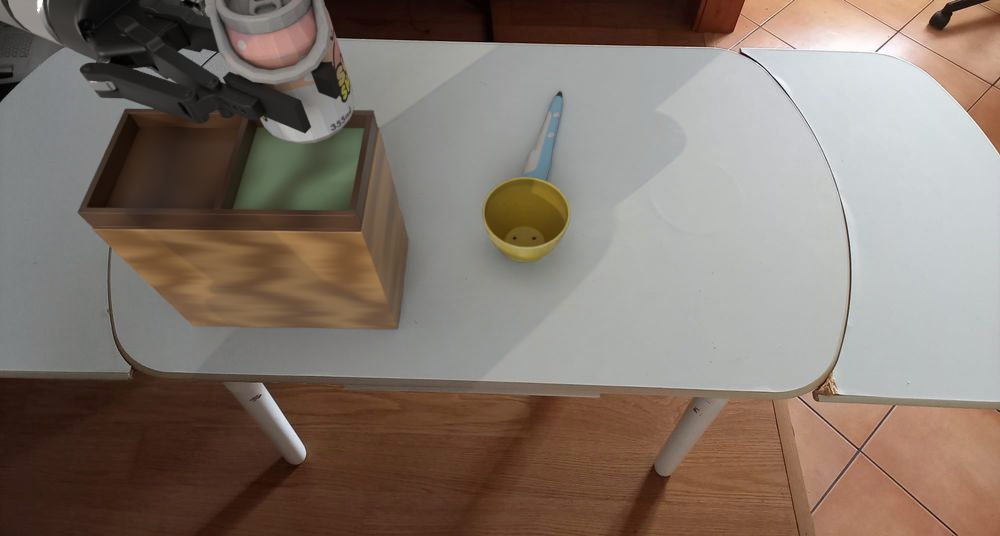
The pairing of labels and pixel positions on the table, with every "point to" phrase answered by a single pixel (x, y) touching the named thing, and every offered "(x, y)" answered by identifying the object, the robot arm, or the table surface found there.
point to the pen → (544, 143)
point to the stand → (281, 268)
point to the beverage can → (285, 57)
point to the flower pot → (526, 217)
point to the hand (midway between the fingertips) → (318, 99)
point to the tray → (229, 176)
